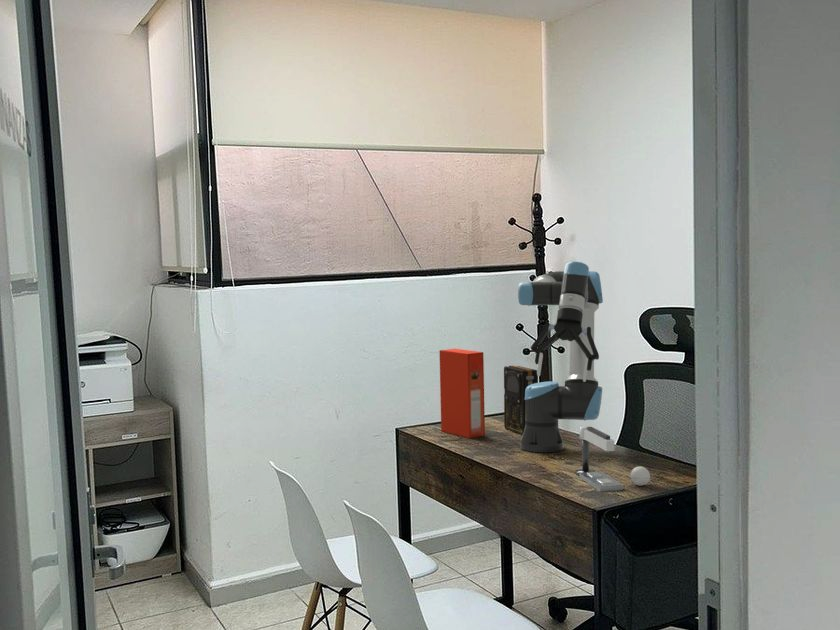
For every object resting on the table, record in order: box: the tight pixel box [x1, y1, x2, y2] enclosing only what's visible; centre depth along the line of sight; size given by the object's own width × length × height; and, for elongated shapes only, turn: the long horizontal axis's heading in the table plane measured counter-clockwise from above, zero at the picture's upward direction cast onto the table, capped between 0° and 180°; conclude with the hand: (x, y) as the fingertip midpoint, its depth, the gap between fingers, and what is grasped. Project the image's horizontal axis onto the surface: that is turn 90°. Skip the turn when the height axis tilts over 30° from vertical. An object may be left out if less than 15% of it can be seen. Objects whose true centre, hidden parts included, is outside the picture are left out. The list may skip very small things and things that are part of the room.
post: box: [575, 439, 596, 477], centre depth 269 cm, size 6×6×11 cm
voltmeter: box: [503, 365, 539, 436], centre depth 335 cm, size 16×9×25 cm, turn 23°
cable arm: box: [579, 425, 615, 452], centre depth 260 cm, size 21×4×4 cm, turn 11°
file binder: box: [439, 348, 486, 439], centre depth 332 cm, size 8×17×32 cm, turn 36°
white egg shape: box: [629, 465, 651, 487], centre depth 254 cm, size 8×6×6 cm
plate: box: [578, 470, 624, 492], centre depth 258 cm, size 16×7×2 cm, turn 11°
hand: (561, 377), depth 257 cm, fingers open, 13 cm apart
